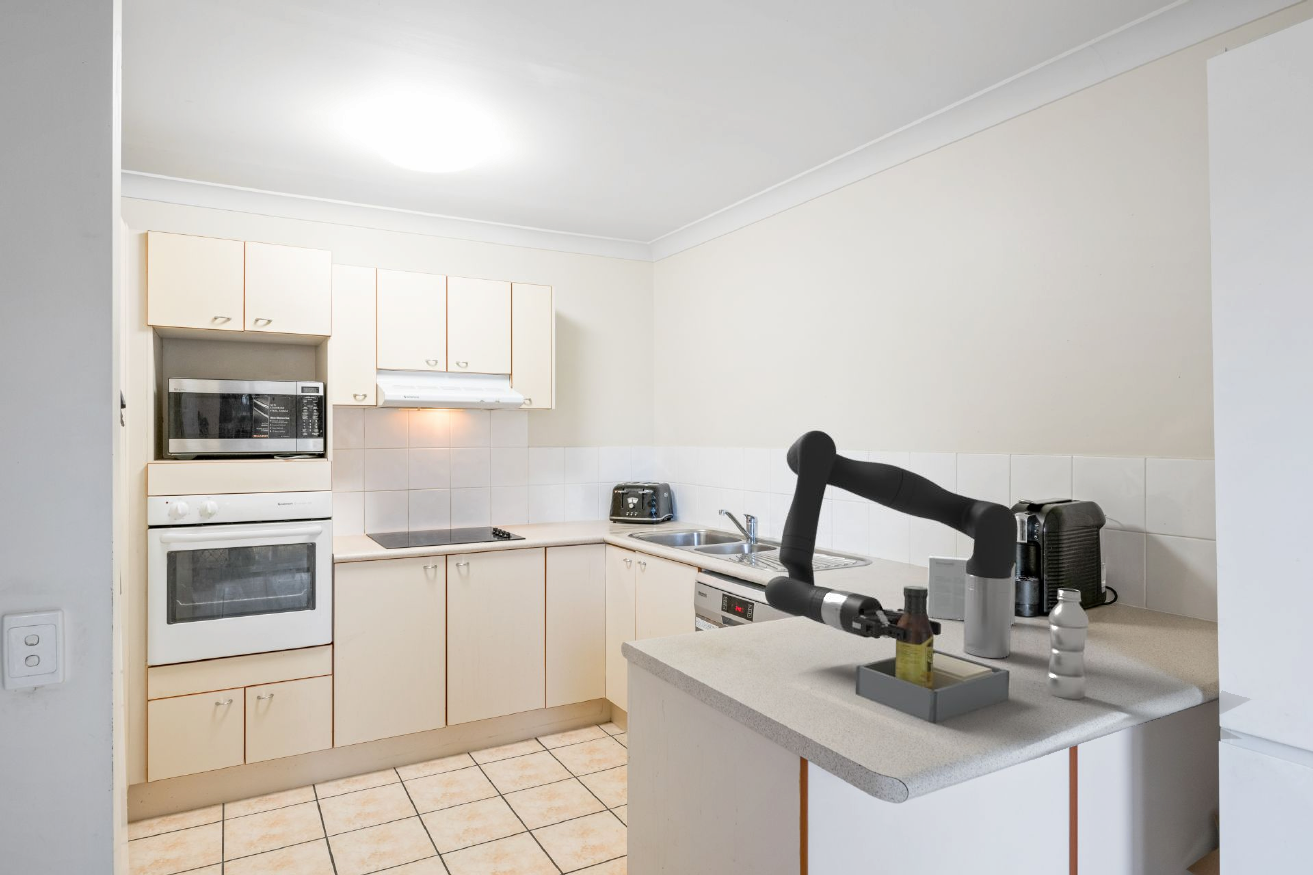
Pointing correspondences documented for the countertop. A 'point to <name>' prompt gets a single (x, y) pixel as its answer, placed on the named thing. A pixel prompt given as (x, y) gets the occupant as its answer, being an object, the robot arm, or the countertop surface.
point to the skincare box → (953, 588)
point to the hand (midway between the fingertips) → (924, 632)
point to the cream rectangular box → (954, 671)
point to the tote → (930, 691)
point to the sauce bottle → (915, 640)
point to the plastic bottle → (1067, 646)
